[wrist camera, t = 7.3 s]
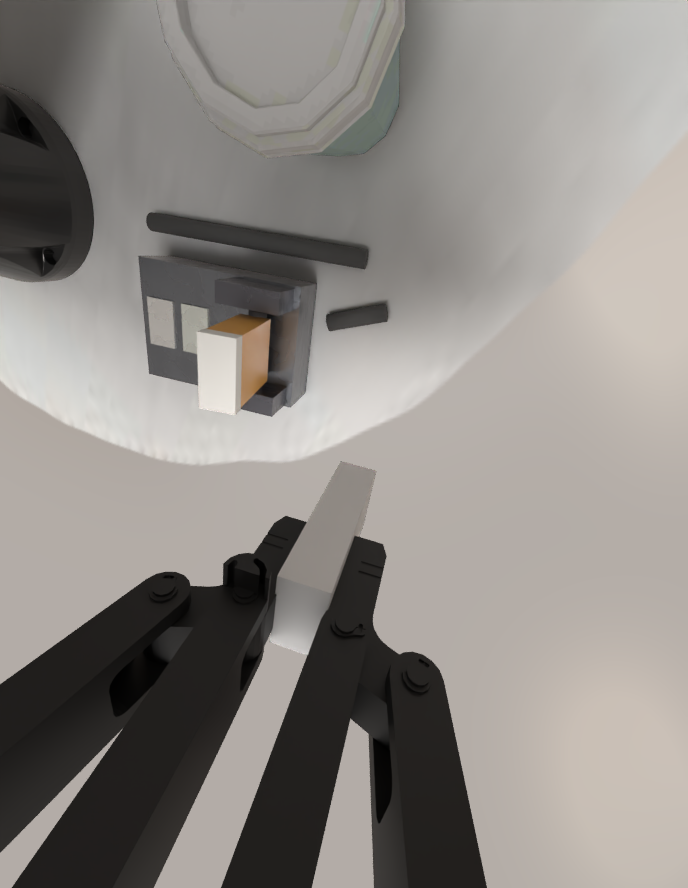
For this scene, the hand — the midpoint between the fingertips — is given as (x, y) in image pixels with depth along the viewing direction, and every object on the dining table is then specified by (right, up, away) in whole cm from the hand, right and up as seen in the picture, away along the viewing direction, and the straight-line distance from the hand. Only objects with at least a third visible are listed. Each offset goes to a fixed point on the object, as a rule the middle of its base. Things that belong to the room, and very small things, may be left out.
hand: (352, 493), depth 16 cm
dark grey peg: (+1, +13, +17) cm, 22 cm away
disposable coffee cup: (0, +26, +11) cm, 28 cm away
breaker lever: (-7, +10, +15) cm, 20 cm away
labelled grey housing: (-10, +13, +20) cm, 26 cm away
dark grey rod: (-8, +19, +17) cm, 26 cm away
